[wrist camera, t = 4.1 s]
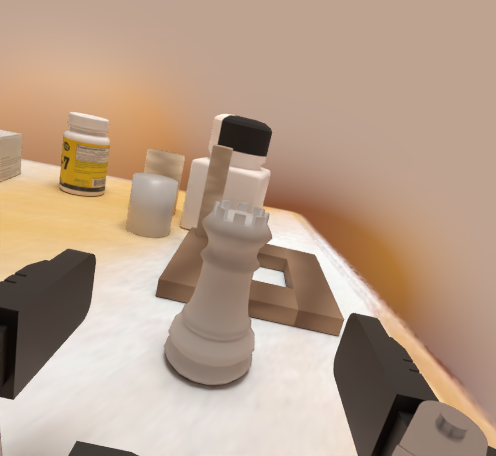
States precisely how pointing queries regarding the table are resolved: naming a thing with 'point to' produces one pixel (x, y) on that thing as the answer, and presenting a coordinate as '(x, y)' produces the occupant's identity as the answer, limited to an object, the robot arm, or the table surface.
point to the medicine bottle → (232, 166)
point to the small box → (10, 154)
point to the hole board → (269, 256)
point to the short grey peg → (151, 205)
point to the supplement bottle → (85, 155)
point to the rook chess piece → (220, 299)
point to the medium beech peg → (165, 166)
